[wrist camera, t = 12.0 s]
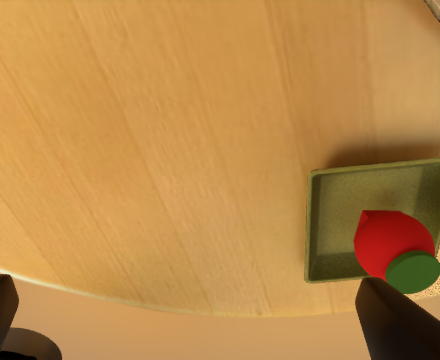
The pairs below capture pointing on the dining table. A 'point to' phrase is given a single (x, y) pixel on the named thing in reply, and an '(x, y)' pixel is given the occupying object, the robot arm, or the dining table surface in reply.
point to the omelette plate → (434, 7)
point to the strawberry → (396, 250)
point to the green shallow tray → (363, 200)
